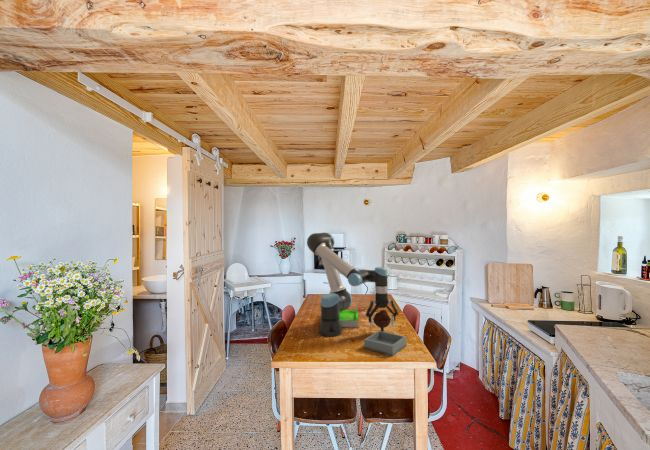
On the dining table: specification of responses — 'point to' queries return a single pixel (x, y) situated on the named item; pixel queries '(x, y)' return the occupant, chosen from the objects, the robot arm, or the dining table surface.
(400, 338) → the charcoal tray
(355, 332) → the dining table surface
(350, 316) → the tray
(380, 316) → the ice cream bowl
